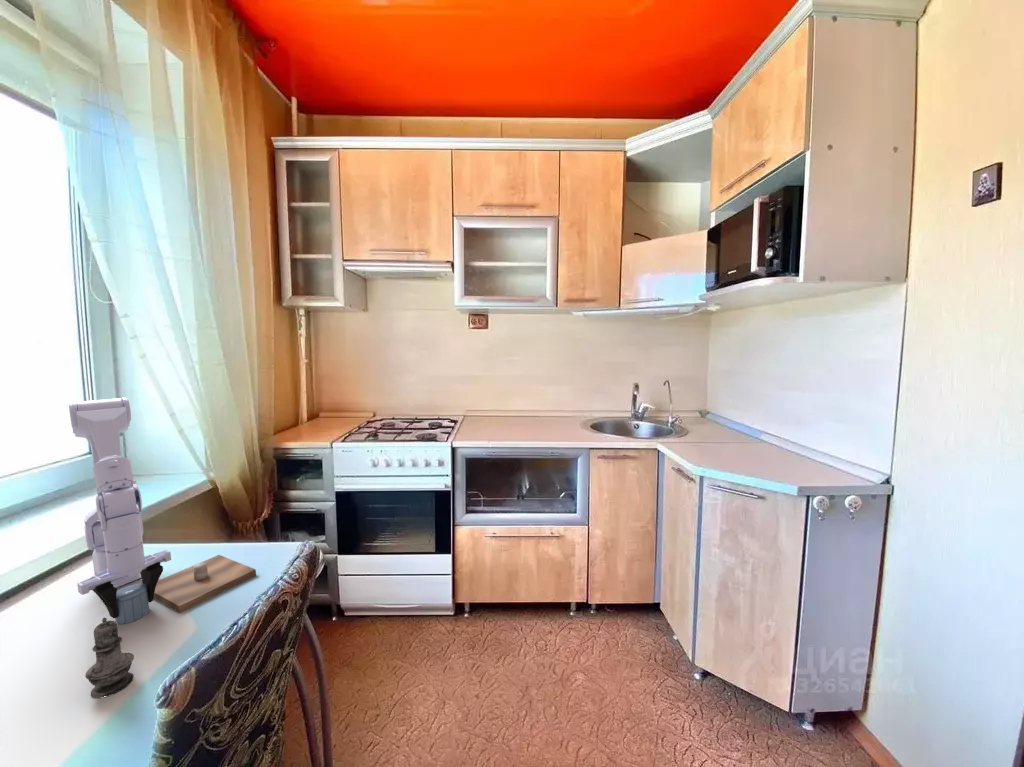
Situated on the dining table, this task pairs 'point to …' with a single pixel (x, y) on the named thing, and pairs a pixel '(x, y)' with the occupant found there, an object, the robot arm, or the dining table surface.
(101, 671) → the dark grey tiered piece
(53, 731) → the dining table surface
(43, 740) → the dining table surface
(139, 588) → the cap
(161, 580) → the walnut board
